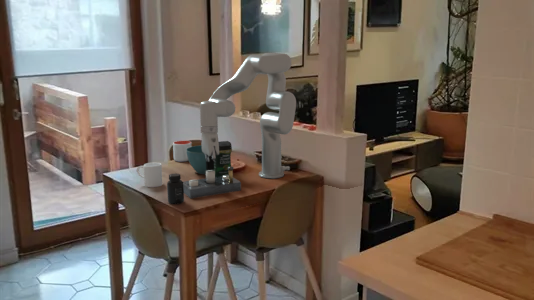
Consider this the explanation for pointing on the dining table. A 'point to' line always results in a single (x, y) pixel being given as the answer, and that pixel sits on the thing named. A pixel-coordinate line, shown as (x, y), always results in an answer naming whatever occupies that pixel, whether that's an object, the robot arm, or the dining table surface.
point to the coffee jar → (223, 159)
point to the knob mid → (210, 176)
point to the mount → (211, 187)
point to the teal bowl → (197, 159)
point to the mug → (152, 174)
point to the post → (230, 174)
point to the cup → (181, 150)
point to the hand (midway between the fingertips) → (210, 169)
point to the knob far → (193, 183)
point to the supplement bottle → (175, 189)
